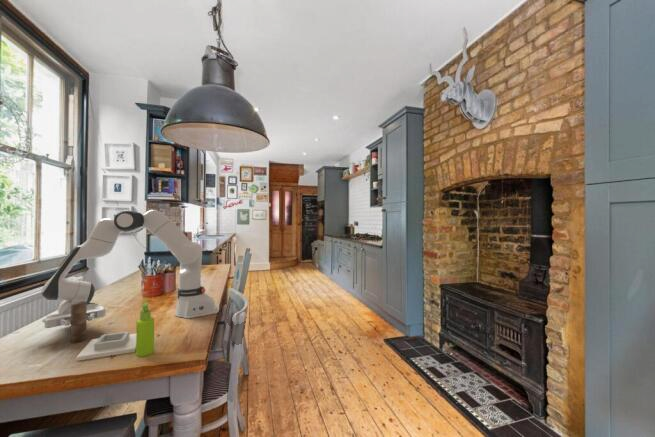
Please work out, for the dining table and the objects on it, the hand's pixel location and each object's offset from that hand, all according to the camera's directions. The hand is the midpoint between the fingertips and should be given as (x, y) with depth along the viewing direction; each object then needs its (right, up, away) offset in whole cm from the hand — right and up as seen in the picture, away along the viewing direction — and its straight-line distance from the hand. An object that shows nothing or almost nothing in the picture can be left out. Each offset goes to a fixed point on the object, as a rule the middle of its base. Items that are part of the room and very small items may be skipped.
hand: (79, 321), depth 121 cm
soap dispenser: (+35, -9, -10) cm, 37 cm away
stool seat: (+18, -9, -5) cm, 21 cm away
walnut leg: (-1, -8, +1) cm, 9 cm away
